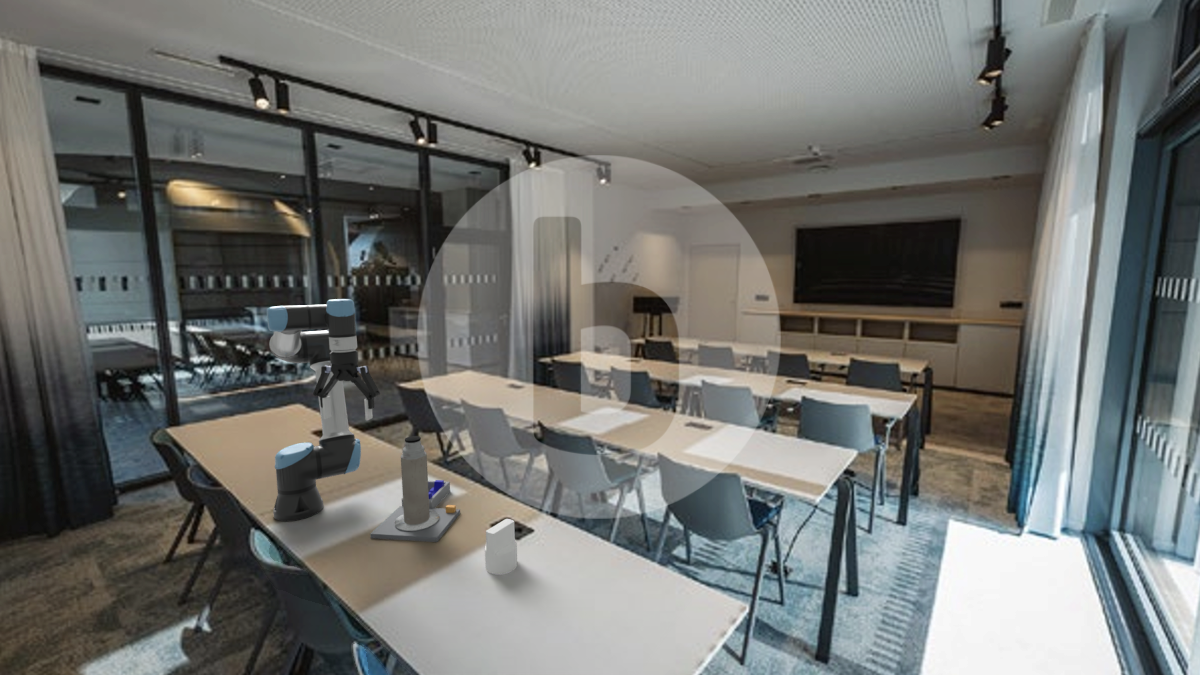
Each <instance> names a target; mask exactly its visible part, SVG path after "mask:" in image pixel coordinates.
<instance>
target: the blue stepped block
mask: <svg viewBox="0 0 1200 675" xmlns="http://www.w3.org/2000/svg"><path fill="white" fill-rule="evenodd" d="M434 481H435V482H434V488H432V489H431V490H430V491H429V492H428V493H429V499H431V498H432V497H433V495H434V494H435V493H436V492H437V491H438V490H439V489H440V488H441V487H442V486H443V485H444V482H445V480H443V479H435V480H434Z"/></svg>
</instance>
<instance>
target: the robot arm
mask: <svg viewBox="0 0 1200 675" xmlns="http://www.w3.org/2000/svg"><path fill="white" fill-rule="evenodd" d="M266 317H267V318H266V320H267V328H268V330H269V331H270V332H272V333H273V335H272V336H271V337H270V338H269V339H270V340H269V350H270V352H271V354H272V355H274V356H275V357H276V358H277V359H279V360H280V361H284V362H285V363H286V362H287V363H291V364H309V367H310V369H311V370H313V371H314V372H315V380H316V386H315V387H314V390H313V396H317V397H318V404H319V412H320V419H321V420H320V422H321V428H322V436H321V437H320V438H319V440H318V445H314V444H313V443H312V442H309V441H308V442H307V441H306V442H300V443H299V442H298V443H294V444H291V445H288V446H285V447H284V448H281V450H279V451H278V452H276V454H275V456H274V469H275V474H276V475H275V476H276V488H277V496H276V499H275V504H274V507H273V510H272V513H273V518H274V519H275V521H281V522H293V521H294V522H295V521H299V520H303V519H307V518H309V517H312V516H314V515H317V514H318V513H320V512H321V511H322V510H323V509H324V499H323V498H322V497H321V494H320V491H319V490H318V487H317V480H320V479H325V478H329V477H336V476H340V475H346V474H348V473H353V472H356V471H357V470H359V467H360V464H361V458H362V456H361V455H362V452H361V451H362V447H361V440H360V439H359V438H356V437H355V433H353V432H352V431H350V428H349V427H350V426H349V421H348V418H349V417H348V413H347V412H348V411H347V410H348V409H347V405H346V397H345V389H344V388H345V387H344V381H345V382H351V383H353V385H355V386H356V387H357V389H358V390H359V391H360V392H361V393H362V394H363V395H364V397H365V398H364V400H363V401H364V413H365V414H364V416H365V417H364V418H365V421H370V420H371V419H373V418H374V417H373V409H375V398H376V397H378V396H380V395H381V392H380V390H379V388H378V387H377V384H376V382H375V381H374V379H373V378H372V375H371V374H370V370H369V366H368V365H363V366H359V364H358V361H359V355H358V354H359V352H358V350H356V349H357V348H358V341H357V327H356V326H357V325H356V324H357V323H356V307H355V302H354V300H352V299H351V298H337V299H336V298H335V299H328V300H327V301H326V304H307V305H300V304H299V305H277V306H270V307H268V308H266ZM321 329H322V330H321ZM308 330H309V331H308ZM311 330H313V331H311ZM359 374H360V375H359Z"/></svg>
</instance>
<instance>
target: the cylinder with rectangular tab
mask: <svg viewBox="0 0 1200 675" xmlns="http://www.w3.org/2000/svg"><path fill="white" fill-rule="evenodd" d="M515 532H516V531H515V521H514V520H513V519H510V518H505V519H503V520H502V521H500V522H498V523H496V524H494V525H493V526H491V527H490V528H488V529H486V530H485V546H484V561H485V562H484V566H485V567H484V568H485V570H486V571H487V573H489V574H491V575H492V574H493V575H495V576H496V575H497V576H499V575H506V574H509V573H511V572H513V571H514V570H515V569H516V568H517V567H518V544H517V541H516V539H515V537H516V536H515Z"/></svg>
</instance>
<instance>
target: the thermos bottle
mask: <svg viewBox="0 0 1200 675" xmlns="http://www.w3.org/2000/svg"><path fill="white" fill-rule="evenodd" d="M421 439H422V438H421V436H419V435H413V436H412V435H411V436H407V437H405V439H404V445H405V446H404V447H402V454H401V455H400V469H401V470H400V471H401V487H402V488H401V489H402V498H403V509H404V522H405V523H406V524H408V525H418V524H422V523H424V522H426V521H428V520H429V518H430V512H429V493H428V481H429V476H428V474H429V473H428V455H427V454H428V453H427V452H426V451H425V446H424V445H423V444H422V440H421Z"/></svg>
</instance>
